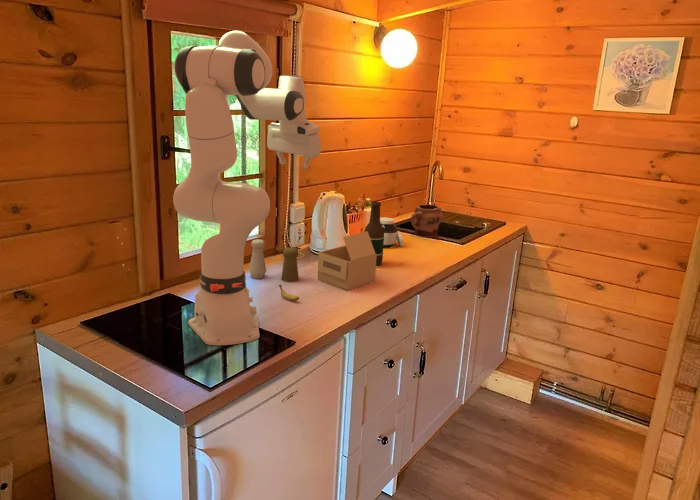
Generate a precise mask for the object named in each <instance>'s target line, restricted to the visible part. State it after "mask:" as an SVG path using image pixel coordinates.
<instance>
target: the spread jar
mask: <svg viewBox="0 0 700 500" xmlns="http://www.w3.org/2000/svg"><path fill="white" fill-rule="evenodd" d="M380 224H381V226H382V228H383V230H384V246H383V249H391V248H393V247H394V246H395V245H396V244H398V246H399V247H404V245H405V242H404V238H403V235H402V233H401V231H400V230H398V228H397V227H396V224H395V219H394V218H392V217H383V216H382V217H381V216H380ZM390 247H391V248H390Z"/></svg>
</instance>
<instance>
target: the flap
mask: <svg viewBox="0 0 700 500" xmlns="http://www.w3.org/2000/svg"><path fill="white" fill-rule="evenodd" d="M342 239H343V241H344V244H345V245H346V247H347V250H348V253H349V256H350V259H351V261H352V260H355V259H358V258H362V257H365V256H369V255H372V254H375V251H374V248H373V245H372V242H371V240H370V237H369V234H368V231H367V232H364V231H363V232H359V233H355V234H349V235H345V236H343V237H342ZM345 245H344V246H345Z"/></svg>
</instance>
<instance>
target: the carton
mask: <svg viewBox="0 0 700 500" xmlns="http://www.w3.org/2000/svg"><path fill="white" fill-rule="evenodd" d="M376 258H377V254H372V255H369V256H365V257H362V258H358V259H355V260H352V261H351V259H350V256H349V253H348V250H347V247H346V245H341V246H337V247H333V248H329V249H325V250H321V251H319V252H318V256H317V259H318V260H317V281H319V282H321V283H324V284H327V285H329V286H332V287H336V288H338V289H340V288H341V289H340V290H344V291H346V292H349V290H350V291H352V289H353V290H356V289H358V287H359V288H361V287H363V285H364V286H367V285H370V284H372V283H371V282H373V283H375V282H376V270H377V268H376ZM374 281H375V282H374ZM369 283H370V284H369ZM366 284H367V285H366ZM360 286H361V287H360ZM355 288H356V289H355Z"/></svg>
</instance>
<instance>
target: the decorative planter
mask: <svg viewBox="0 0 700 500" xmlns="http://www.w3.org/2000/svg"><path fill="white" fill-rule="evenodd" d="M410 217H411V218H410V223H411V225H412V227H413V228H414V233H415V235H416V236H419V237H423V238H433V237H436V236H438V232H439V225H440V224H441V223H442V221H443V219H444V214H443V213H442V208H441V207H440V206H439V205H435V204H434V205H433V204H421V205H417V206H416V209H415V210H414V212H413V213H412V214H411V216H410Z"/></svg>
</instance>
